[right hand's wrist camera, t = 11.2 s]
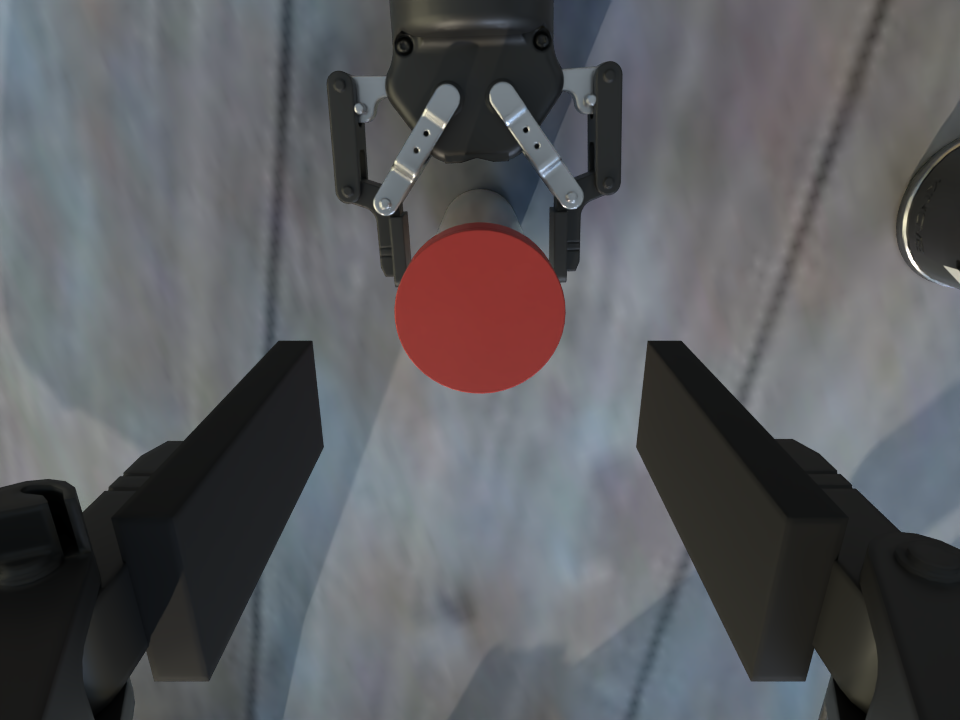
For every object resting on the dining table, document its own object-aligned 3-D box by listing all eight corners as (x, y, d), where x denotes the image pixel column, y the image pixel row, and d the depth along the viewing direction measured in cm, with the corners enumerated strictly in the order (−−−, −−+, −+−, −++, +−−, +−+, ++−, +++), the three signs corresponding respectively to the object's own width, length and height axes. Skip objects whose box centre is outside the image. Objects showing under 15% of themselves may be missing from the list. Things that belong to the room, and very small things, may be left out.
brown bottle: (445, 185, 36) (414, 235, 19) (521, 192, 36) (558, 249, 19) (439, 261, 38) (407, 370, 21) (512, 268, 38) (539, 381, 21)
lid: (404, 214, 20) (398, 220, 19) (570, 230, 20) (578, 238, 19) (396, 368, 22) (390, 386, 21) (547, 382, 22) (552, 400, 21)
